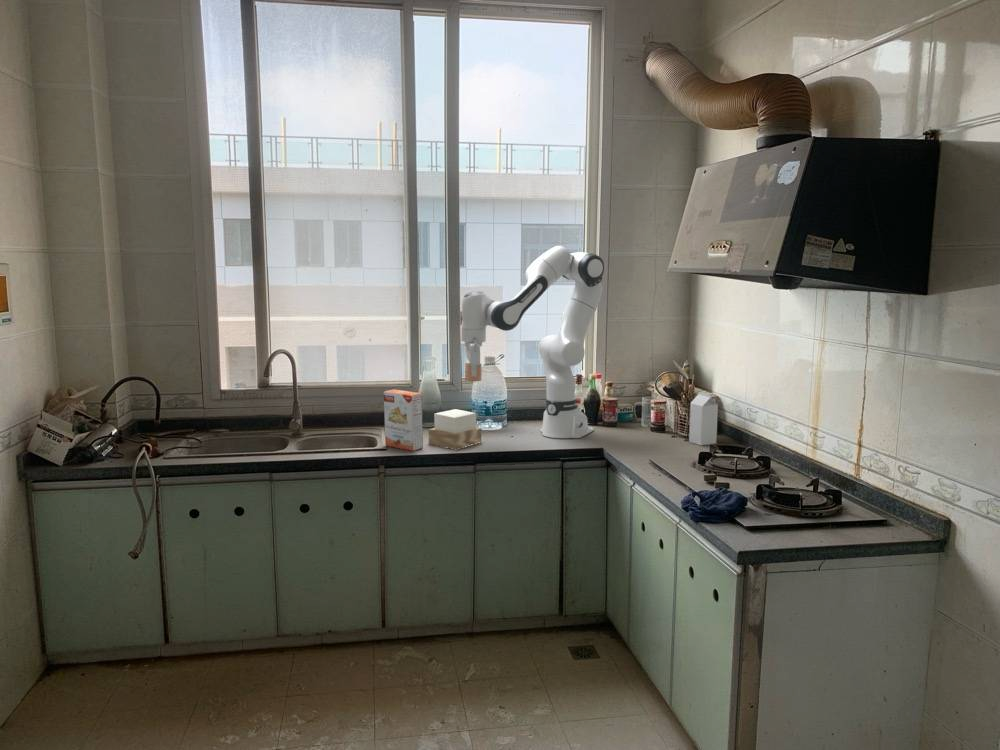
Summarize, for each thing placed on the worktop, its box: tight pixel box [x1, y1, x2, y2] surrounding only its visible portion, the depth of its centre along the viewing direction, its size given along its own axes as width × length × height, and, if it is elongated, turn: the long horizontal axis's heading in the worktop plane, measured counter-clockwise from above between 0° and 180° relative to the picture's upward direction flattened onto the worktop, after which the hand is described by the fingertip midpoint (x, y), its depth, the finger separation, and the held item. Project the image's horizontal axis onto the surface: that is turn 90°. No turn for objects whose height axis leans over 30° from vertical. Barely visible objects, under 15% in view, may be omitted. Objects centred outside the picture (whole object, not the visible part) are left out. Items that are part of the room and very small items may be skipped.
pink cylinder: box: [464, 362, 483, 382], centre depth 270 cm, size 6×6×6 cm
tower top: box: [433, 408, 477, 434], centre depth 277 cm, size 11×11×6 cm
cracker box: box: [383, 389, 424, 452], centre depth 272 cm, size 14×6×21 cm, turn 54°
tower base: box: [428, 426, 482, 450], centre depth 278 cm, size 14×14×6 cm
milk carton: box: [688, 391, 719, 446], centre depth 276 cm, size 7×7×19 cm
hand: (473, 374), depth 271 cm, fingers closed on pink cylinder, 6 cm apart
